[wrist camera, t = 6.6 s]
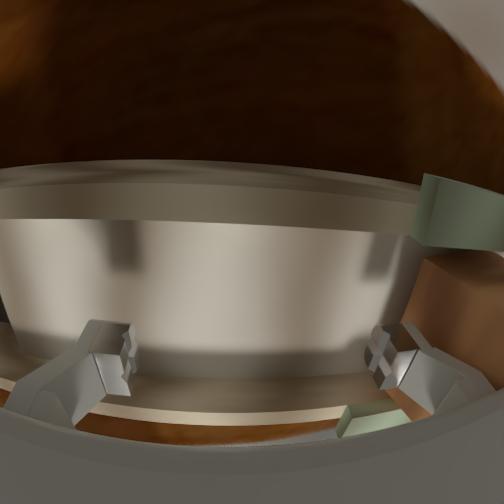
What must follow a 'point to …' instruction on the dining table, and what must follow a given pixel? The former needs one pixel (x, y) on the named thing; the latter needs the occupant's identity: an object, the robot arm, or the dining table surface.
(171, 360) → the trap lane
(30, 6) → the dining table surface
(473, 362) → the block
